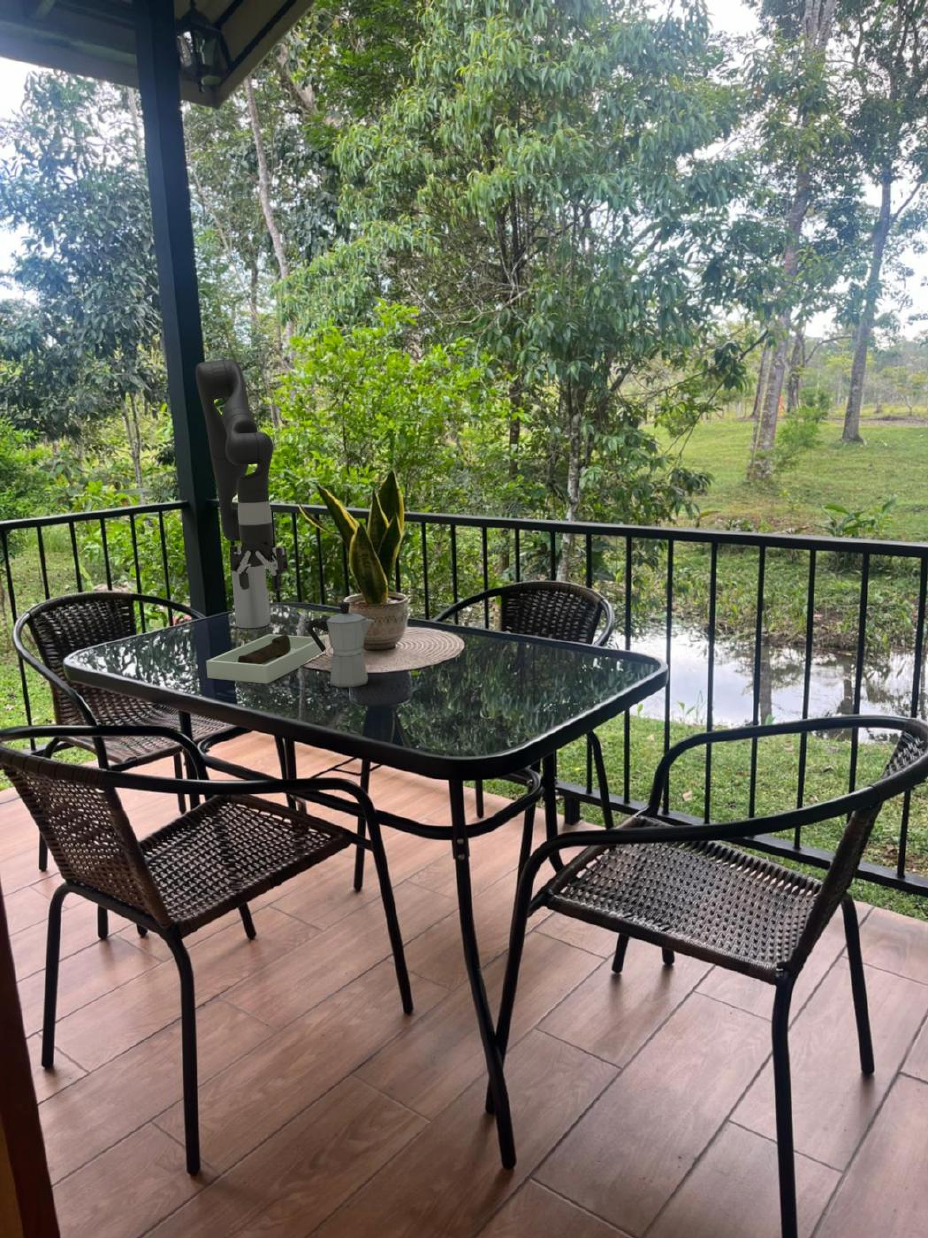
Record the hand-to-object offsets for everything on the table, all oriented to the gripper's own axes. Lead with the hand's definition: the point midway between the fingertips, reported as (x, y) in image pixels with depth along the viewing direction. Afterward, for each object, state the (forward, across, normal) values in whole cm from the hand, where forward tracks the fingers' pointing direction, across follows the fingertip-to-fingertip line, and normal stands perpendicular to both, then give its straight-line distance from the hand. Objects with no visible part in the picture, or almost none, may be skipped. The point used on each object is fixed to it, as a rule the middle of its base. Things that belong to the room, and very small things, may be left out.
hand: (260, 589), depth 218 cm
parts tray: (+18, -1, +1) cm, 18 cm away
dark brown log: (+17, 0, +1) cm, 17 cm away
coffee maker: (+18, -25, +8) cm, 32 cm away
